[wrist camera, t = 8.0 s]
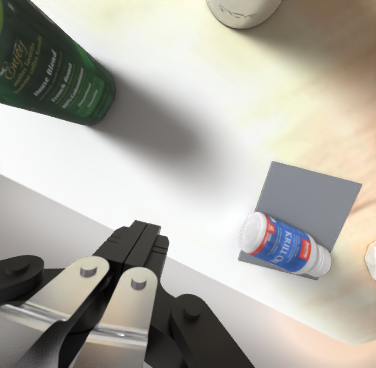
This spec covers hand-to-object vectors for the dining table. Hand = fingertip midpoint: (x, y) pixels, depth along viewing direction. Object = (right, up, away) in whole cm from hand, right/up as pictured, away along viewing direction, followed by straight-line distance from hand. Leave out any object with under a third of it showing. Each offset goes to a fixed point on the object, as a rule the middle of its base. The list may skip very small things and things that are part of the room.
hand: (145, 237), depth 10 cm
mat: (+18, -2, +15) cm, 23 cm away
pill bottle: (+10, -3, +12) cm, 16 cm away
